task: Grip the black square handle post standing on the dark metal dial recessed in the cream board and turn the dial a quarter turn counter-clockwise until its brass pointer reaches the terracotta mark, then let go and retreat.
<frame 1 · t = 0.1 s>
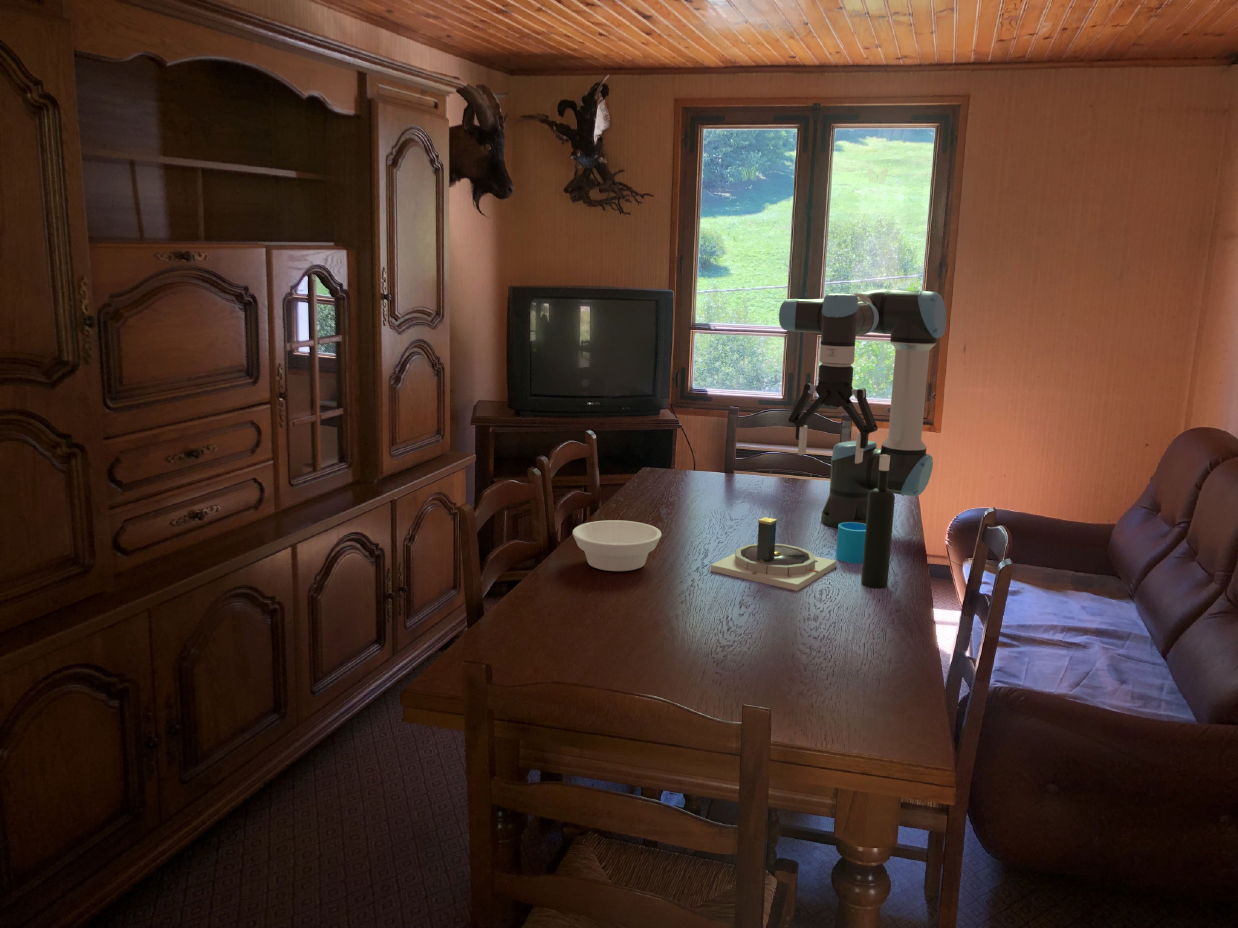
hand: (829, 458, 217), 28 cm above the table, fingers open, 13 cm apart
wine bottle: (874, 584, 218), on the table
bowl: (616, 565, 228), on the table
dial: (775, 538, 226), point 8 cm above the table, hinge at 0.0°
mug: (853, 557, 239), on the table
dial board: (774, 568, 227), on the table
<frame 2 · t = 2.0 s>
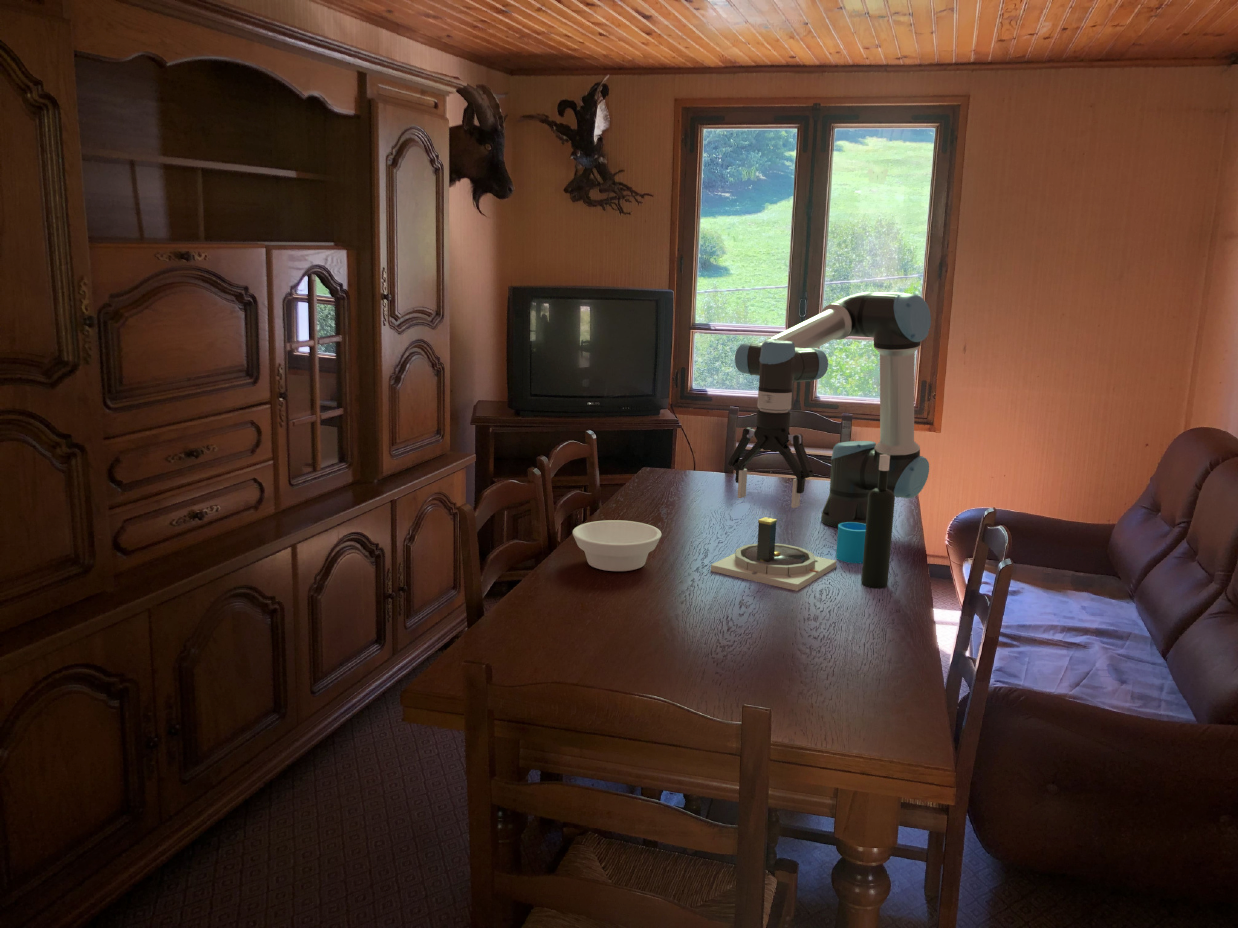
hand: (768, 502, 220), 17 cm above the table, fingers open, 13 cm apart
nothing on the table moved.
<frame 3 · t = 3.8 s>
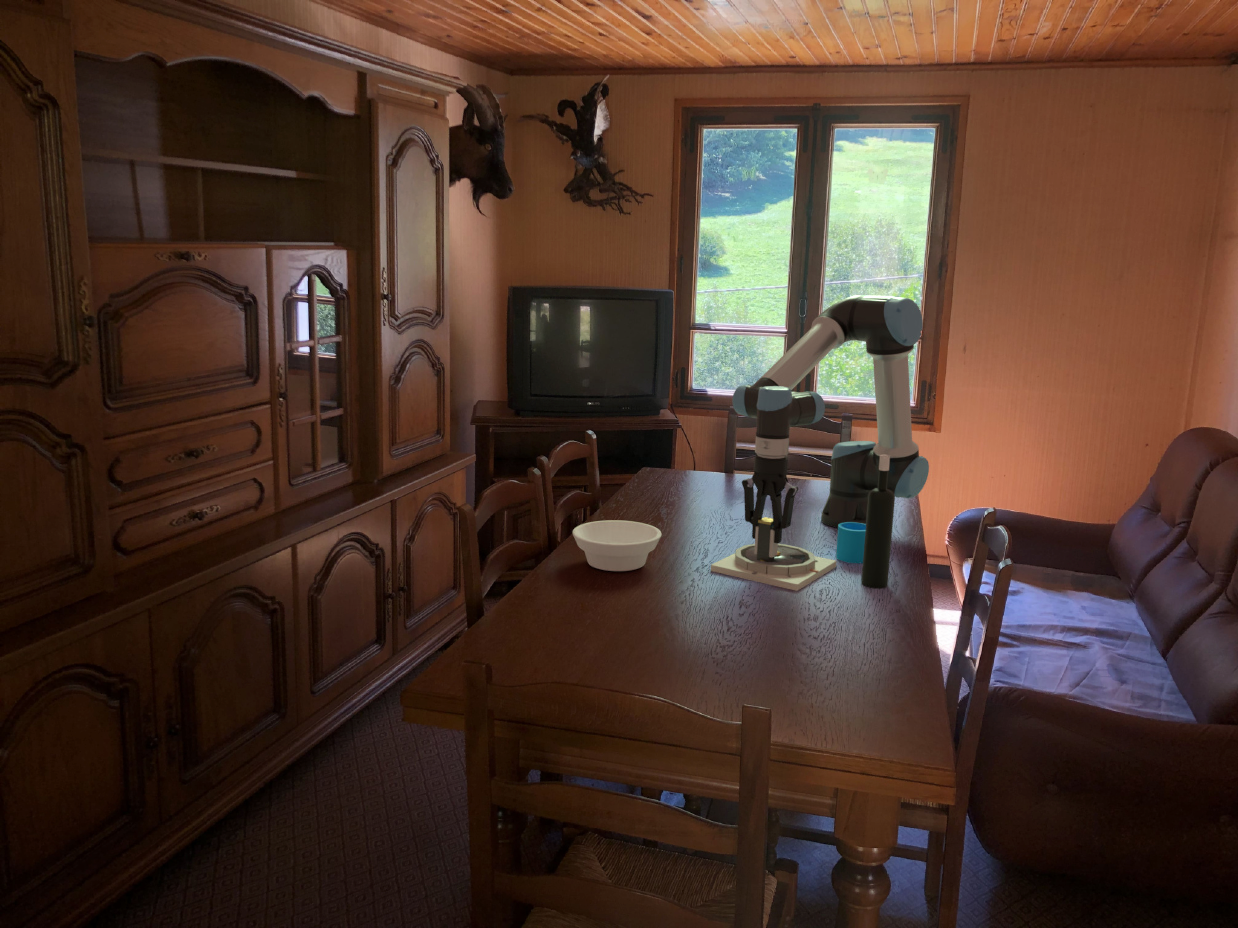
hand: (765, 554, 222), 5 cm above the table, fingers closed on dial, 3 cm apart
dial: (775, 538, 226), point 8 cm above the table, hinge at 0.0°, touching gripper
everything else where it was.
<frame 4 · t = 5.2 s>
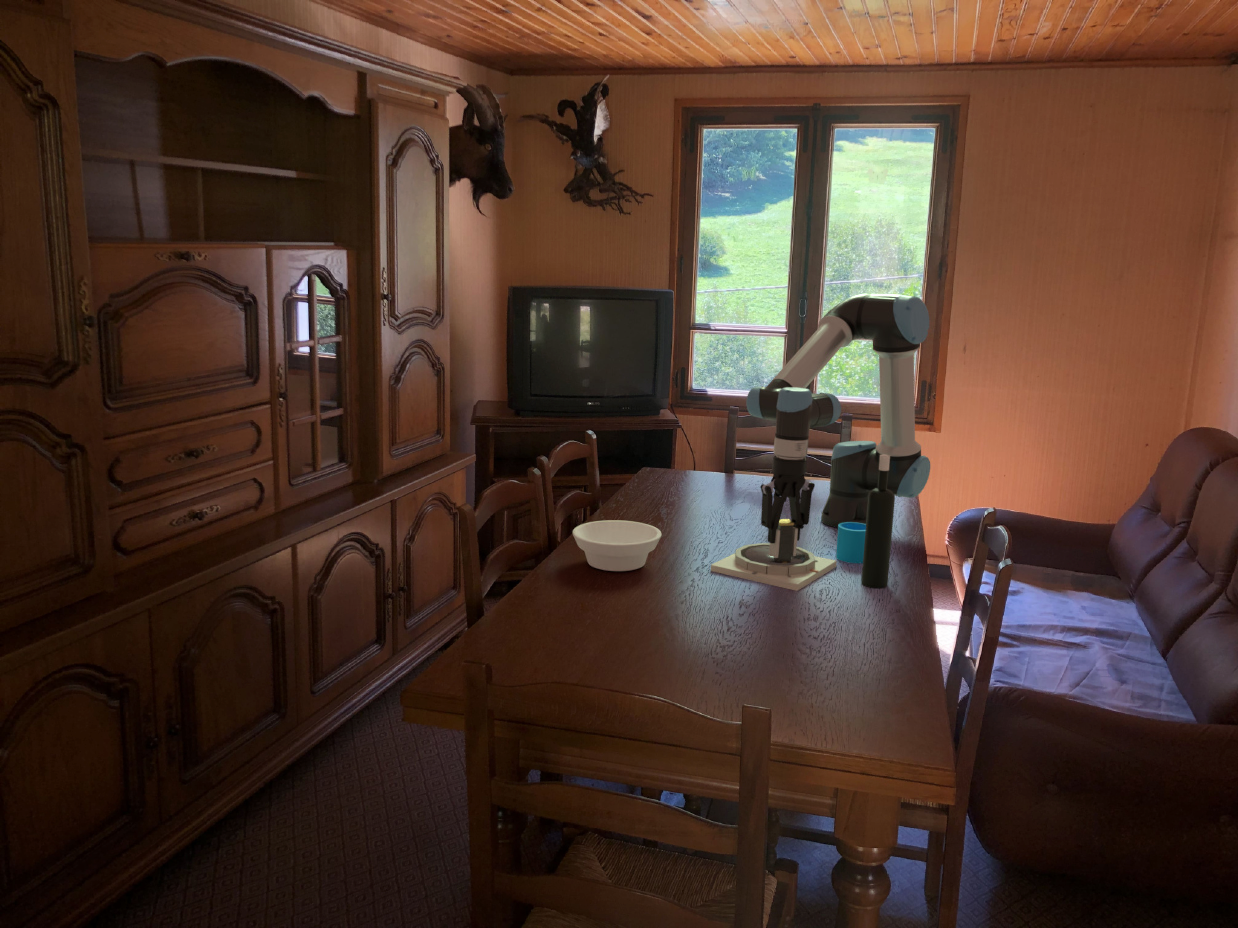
hand: (782, 554, 222), 5 cm above the table, fingers open, 4 cm apart
dial: (775, 538, 226), point 8 cm above the table, hinge at 45.8°, touching gripper
everything else where it was.
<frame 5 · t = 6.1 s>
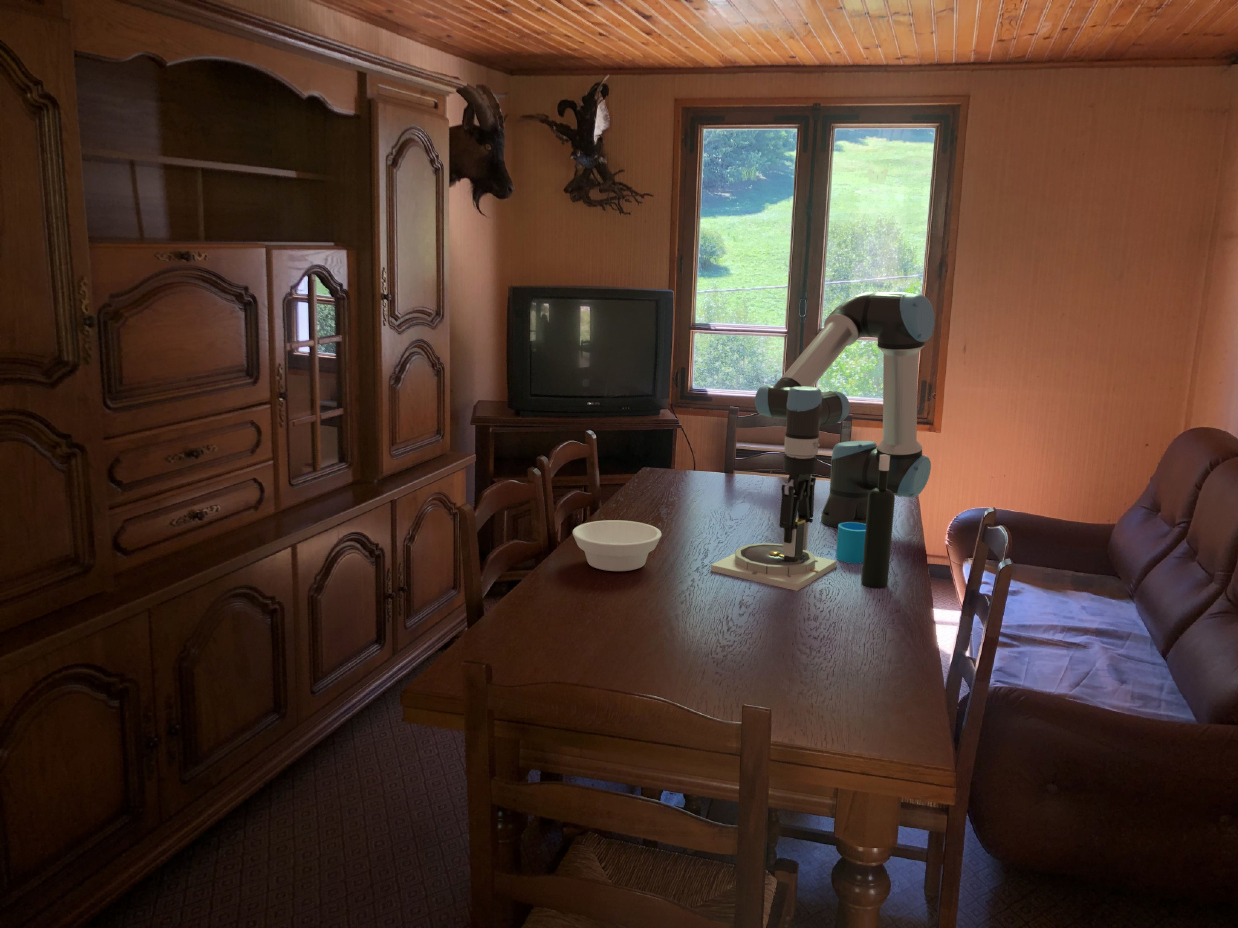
hand: (794, 552, 224), 5 cm above the table, fingers open, 6 cm apart
dial: (775, 538, 226), point 8 cm above the table, hinge at 82.5°
everything else where it was.
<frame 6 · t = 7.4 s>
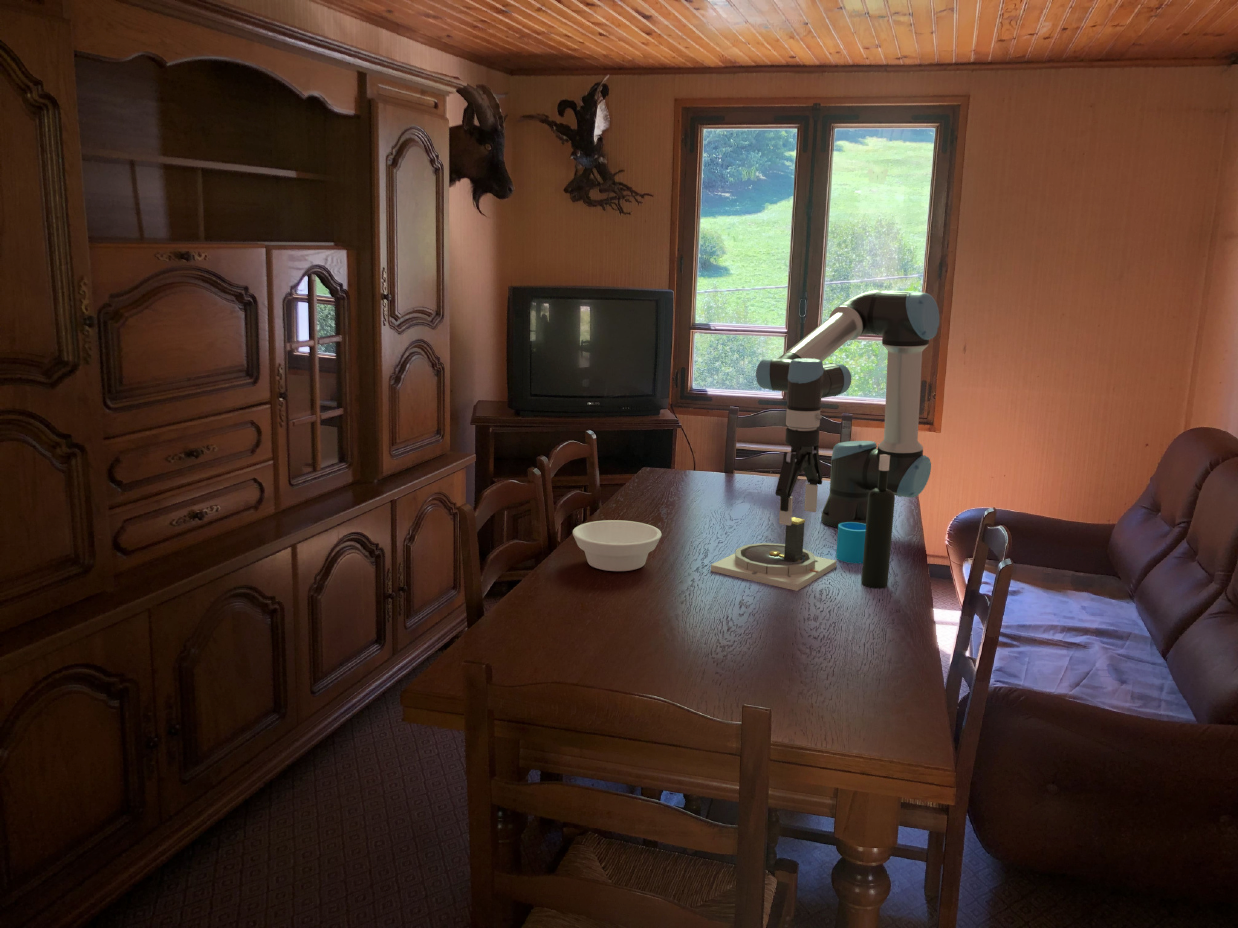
hand: (798, 517, 222), 13 cm above the table, fingers open, 13 cm apart
nothing on the table moved.
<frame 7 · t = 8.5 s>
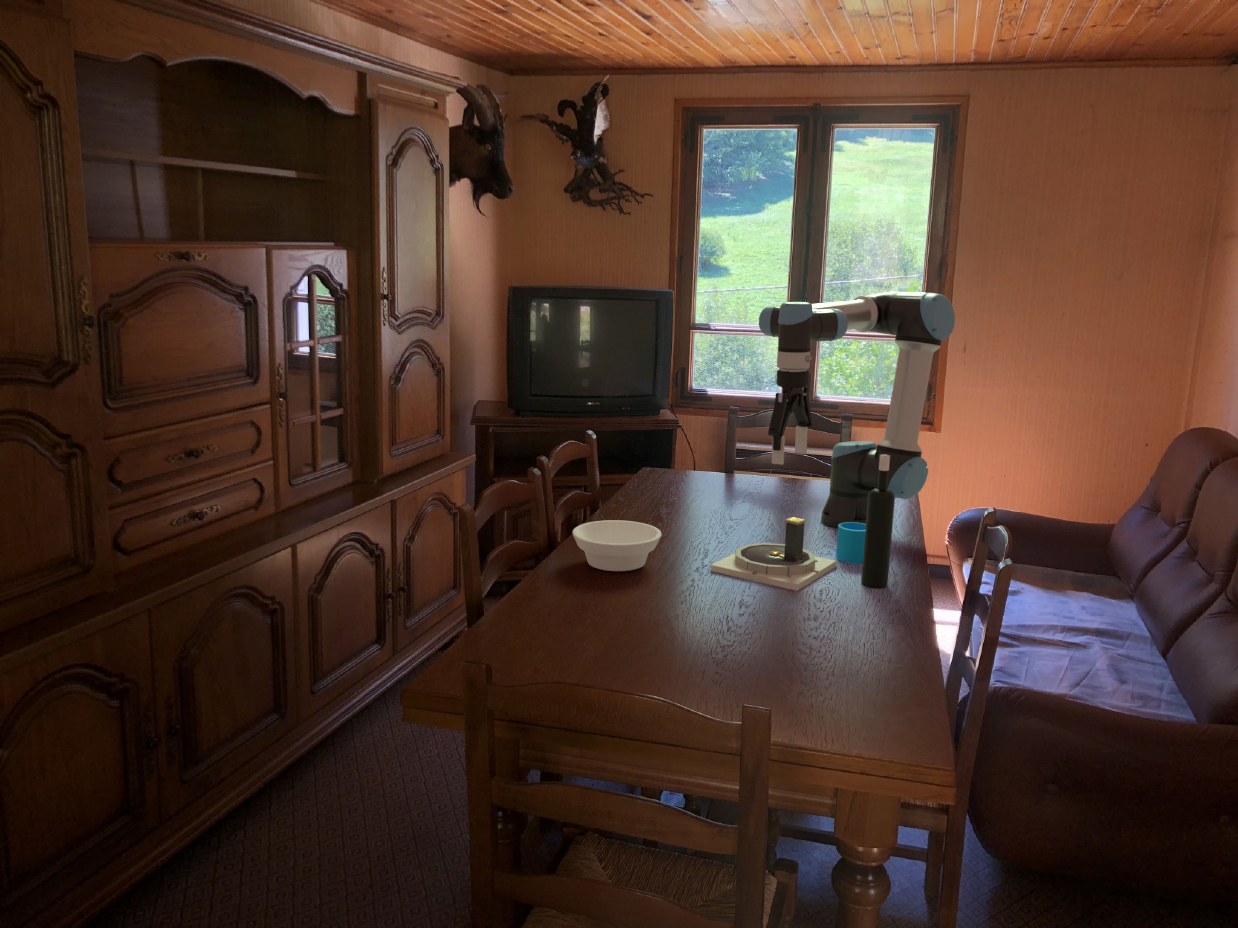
hand: (789, 458, 228), 26 cm above the table, fingers open, 13 cm apart
nothing on the table moved.
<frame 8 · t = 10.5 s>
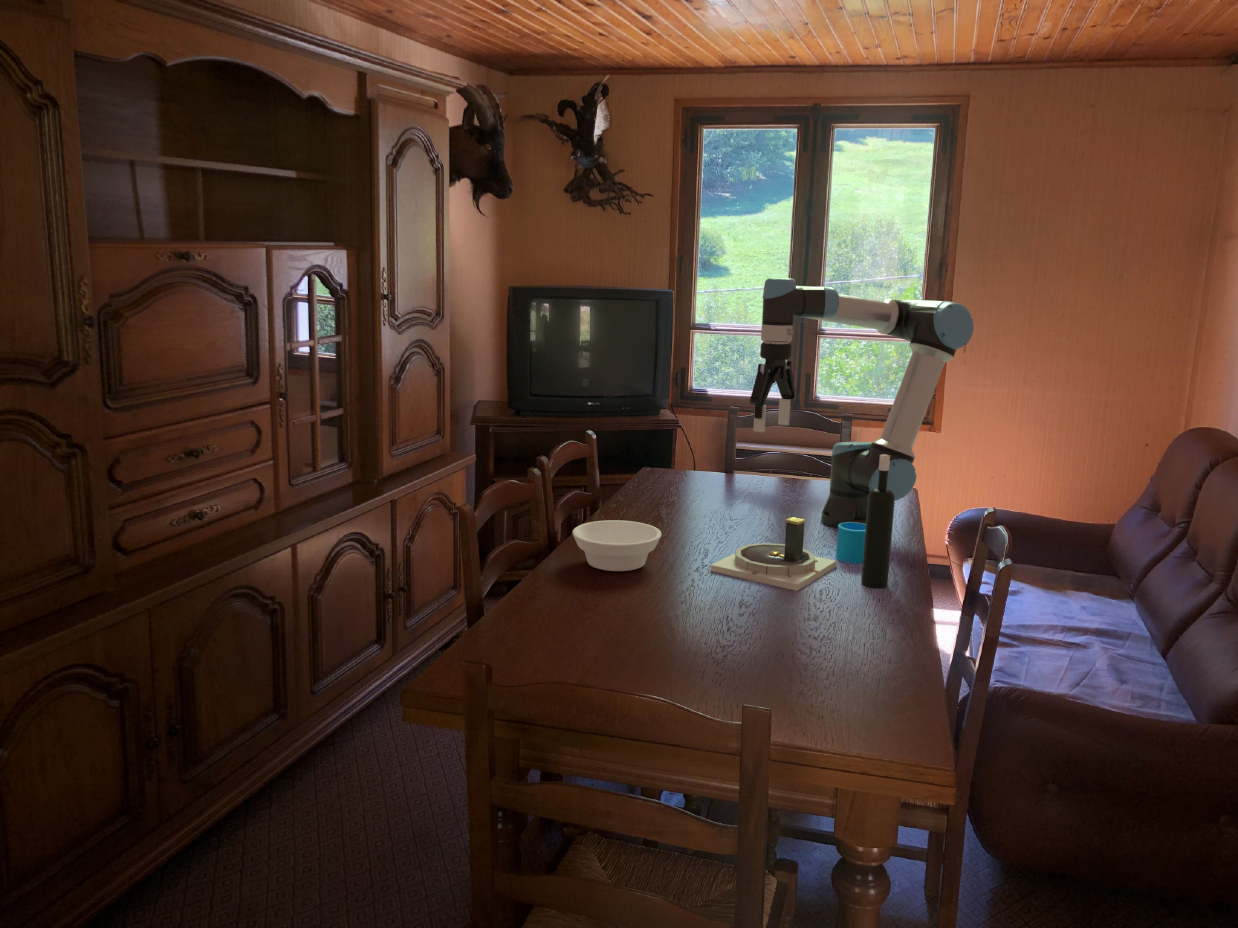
hand: (771, 428, 239), 31 cm above the table, fingers open, 13 cm apart
nothing on the table moved.
at the end: dial at +83° (first picture: +0°); the gripper is holding nothing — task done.
